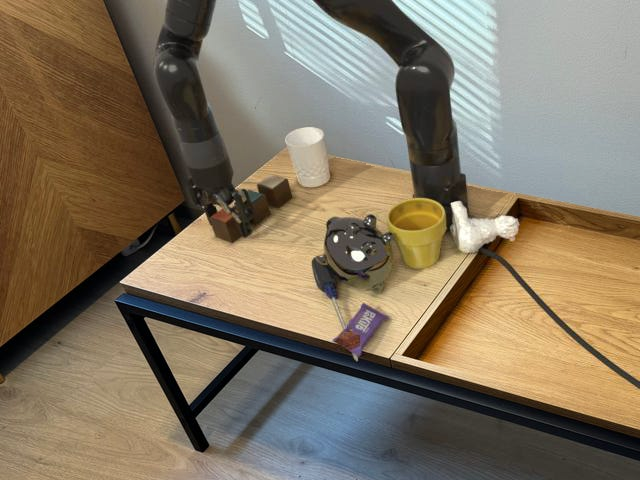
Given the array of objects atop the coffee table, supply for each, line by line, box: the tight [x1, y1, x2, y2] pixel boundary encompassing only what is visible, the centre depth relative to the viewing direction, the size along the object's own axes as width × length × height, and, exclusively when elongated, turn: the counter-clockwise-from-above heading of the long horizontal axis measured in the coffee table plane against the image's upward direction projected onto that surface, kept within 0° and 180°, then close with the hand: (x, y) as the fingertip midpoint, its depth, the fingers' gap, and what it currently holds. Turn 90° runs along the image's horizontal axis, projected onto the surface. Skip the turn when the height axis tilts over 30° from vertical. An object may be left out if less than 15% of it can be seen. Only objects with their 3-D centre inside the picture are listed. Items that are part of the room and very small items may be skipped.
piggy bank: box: [315, 213, 396, 295], centre depth 139 cm, size 11×15×12 cm
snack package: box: [332, 302, 389, 357], centre depth 131 cm, size 12×2×5 cm
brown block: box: [256, 173, 294, 210], centre depth 163 cm, size 4×4×5 cm
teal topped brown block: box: [233, 189, 272, 226], centre depth 159 cm, size 4×4×5 cm
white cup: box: [284, 126, 331, 188], centre depth 166 cm, size 8×8×10 cm
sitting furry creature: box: [449, 201, 520, 254], centre depth 147 cm, size 10×9×12 cm
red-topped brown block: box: [209, 207, 242, 244], centre depth 155 cm, size 4×4×5 cm
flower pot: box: [386, 197, 447, 269], centre depth 144 cm, size 10×10×10 cm
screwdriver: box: [310, 256, 359, 362], centre depth 136 cm, size 26×4×4 cm
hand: (231, 229), depth 156 cm, fingers open, 8 cm apart
